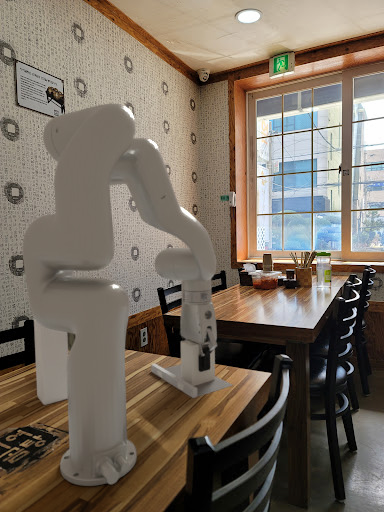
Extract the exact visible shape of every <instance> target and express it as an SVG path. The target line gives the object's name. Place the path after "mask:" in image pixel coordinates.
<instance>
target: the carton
mask: <svg viewBox="0 0 384 512" xmlns="http://www.w3.org/2000/svg"><path fill="white" fill-rule="evenodd" d="M204 342H206V340H204ZM205 347H206V345H203V348H204V349H205ZM215 349H216V347H215V348H214V350H213V351H212V354H210V370H206V371H203V372H200V371H199V355H200V350H199V344H198V343H195V342H193V341H191V340H185V341H183V340H181V341H180V364H181V379H182V380H184V381H186V382H188V383H189V384H191V385H193V386H195V385H198V384H202V383H205V382H208V381H212V380H215V376H216V361H215V360H216V357H215V356H216V354H215V353H216V350H215Z"/></svg>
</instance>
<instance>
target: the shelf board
mask: <svg viewBox="0 0 384 512" xmlns="http://www.w3.org/2000/svg"><path fill="white" fill-rule="evenodd" d="M150 365H151V366H150V368H151V369H150V370H151V371H150V372H151V373H152V374H154V375H155V376H157V377H158V378H161V379H162V380H164V381H165V382H167V384H170V385H172V386H173V387H175V388H176V389H177V390H179V391H181V392H183V393H184V394H185V395H187V396H188V397H190V398H192V399H195V398H199V397H202V396H204V395H207V394H211V393H215V392H217V391H220V390H223V389H226V388H229V387H232V386H234V384H232V383H230V382H228V381H226V380H224V379H222V378H221V377H218V376H216V375H215V380H212V381H208V382H205V383H202V384H198V385H195V386H193V385H191V384H189V383H188V382H186V381H184V380H182V379H181V363H180V364H175V365H173V366H169V367H164V368H163V367H162V366H160V365H158V364H157V363H151V364H150Z"/></svg>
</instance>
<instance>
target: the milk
mask: <svg viewBox="0 0 384 512" xmlns="http://www.w3.org/2000/svg"><path fill="white" fill-rule="evenodd" d="M33 327H34V348H35V349H34V351H35V353H34V354H35V371H36V374H35V375H36V376H35V377H36V395H37V398H38V399H39V401H40V402H41V403H42V405H44V406H46V405H47V406H48V405H50V404H53V403H58V402H62V401H65V400H68V393H67V371H66V367H67V358H68V355H69V349H68V339H67V332H63V331H57V330H52V329H48V328H45V327H43V326H41V325H40V324H39V323H38V322H37V321H36V320H35V319H33Z"/></svg>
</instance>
